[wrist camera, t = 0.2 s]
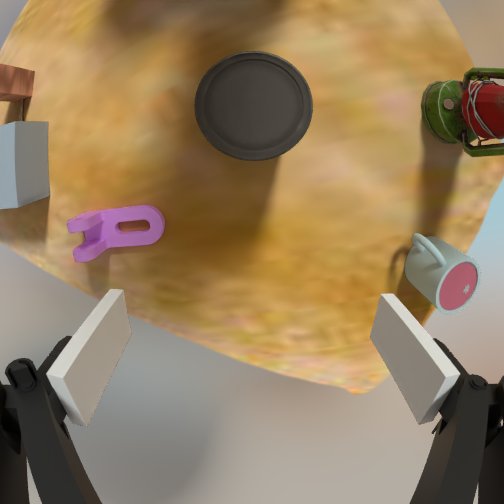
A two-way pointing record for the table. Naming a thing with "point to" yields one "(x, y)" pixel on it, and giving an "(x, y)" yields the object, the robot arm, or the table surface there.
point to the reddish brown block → (15, 85)
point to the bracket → (114, 229)
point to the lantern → (467, 111)
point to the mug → (442, 273)
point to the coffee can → (253, 105)
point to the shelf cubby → (23, 163)
